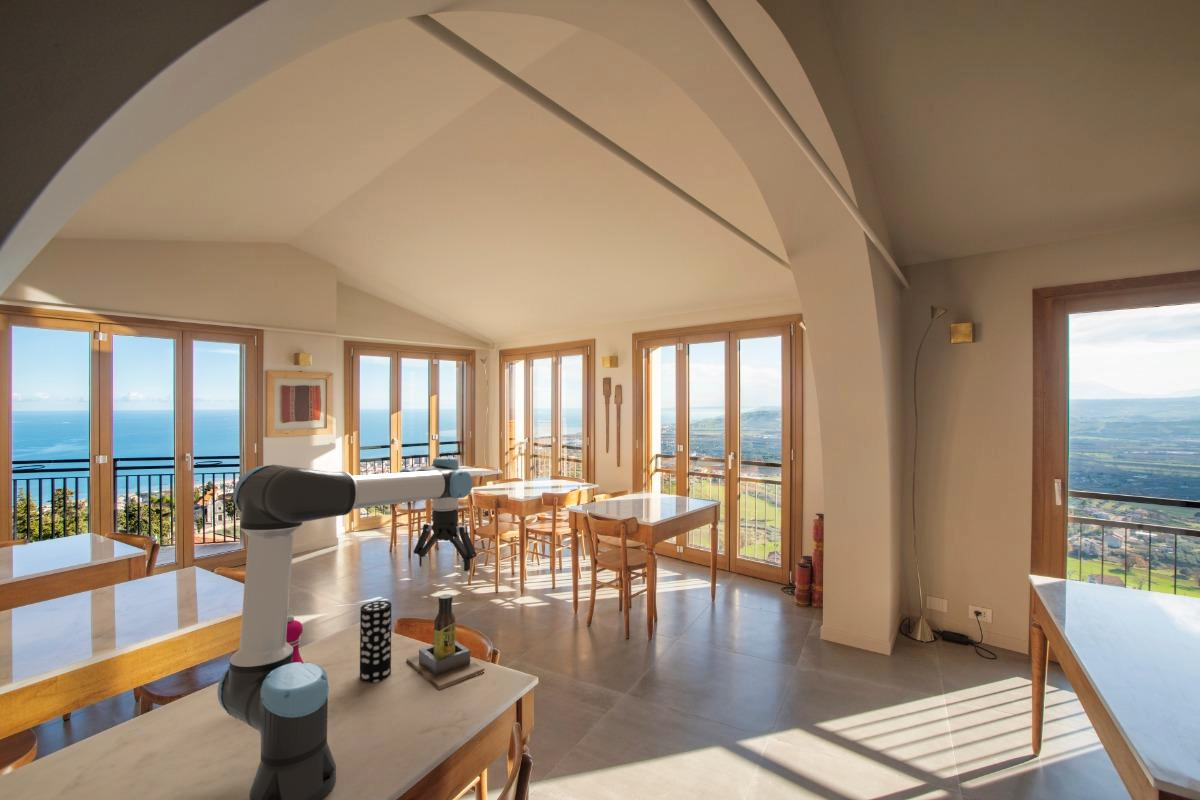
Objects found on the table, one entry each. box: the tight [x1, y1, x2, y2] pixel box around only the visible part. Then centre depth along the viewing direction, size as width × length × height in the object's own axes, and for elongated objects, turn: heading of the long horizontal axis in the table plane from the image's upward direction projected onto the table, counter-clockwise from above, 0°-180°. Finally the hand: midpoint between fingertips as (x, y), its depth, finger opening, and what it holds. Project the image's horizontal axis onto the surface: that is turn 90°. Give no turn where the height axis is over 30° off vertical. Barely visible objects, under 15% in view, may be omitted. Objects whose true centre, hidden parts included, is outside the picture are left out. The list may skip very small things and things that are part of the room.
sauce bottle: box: [433, 593, 457, 659], centre depth 157 cm, size 6×6×20 cm
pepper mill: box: [286, 615, 304, 664], centre depth 145 cm, size 7×7×20 cm
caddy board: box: [406, 653, 485, 690], centre depth 156 cm, size 22×14×1 cm, turn 43°
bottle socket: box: [418, 640, 471, 677], centre depth 157 cm, size 11×11×4 cm
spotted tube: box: [359, 600, 392, 684], centre depth 152 cm, size 8×8×20 cm
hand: (444, 579), depth 157 cm, fingers open, 13 cm apart
